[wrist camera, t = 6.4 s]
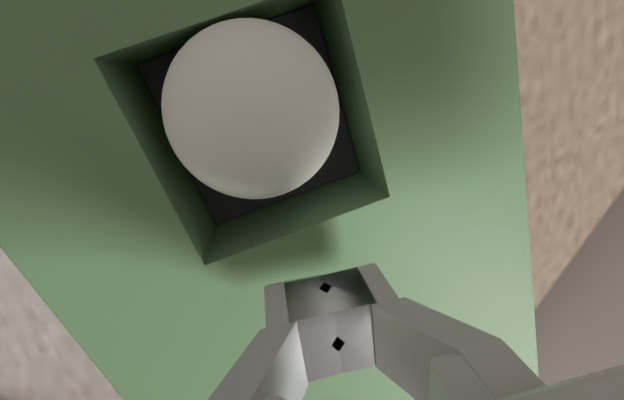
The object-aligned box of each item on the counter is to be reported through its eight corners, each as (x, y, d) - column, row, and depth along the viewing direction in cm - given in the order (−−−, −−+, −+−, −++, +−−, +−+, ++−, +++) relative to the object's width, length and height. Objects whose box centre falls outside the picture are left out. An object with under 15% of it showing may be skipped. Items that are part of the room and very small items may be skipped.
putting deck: (227, 444, 16) (221, 521, 13) (-60, 21, 9) (-204, -6, 6) (491, 339, 17) (539, 392, 14) (425, -138, 9) (498, -229, 7)
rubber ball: (227, -45, 8) (340, 70, 11) (136, 91, 10) (255, 163, 12) (249, -8, 5) (402, 142, 8) (109, 187, 6) (278, 254, 9)
